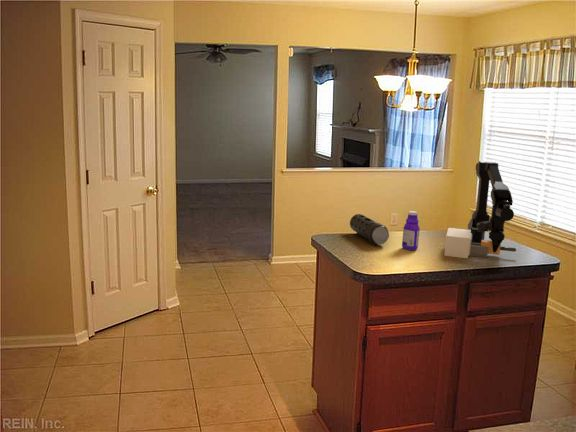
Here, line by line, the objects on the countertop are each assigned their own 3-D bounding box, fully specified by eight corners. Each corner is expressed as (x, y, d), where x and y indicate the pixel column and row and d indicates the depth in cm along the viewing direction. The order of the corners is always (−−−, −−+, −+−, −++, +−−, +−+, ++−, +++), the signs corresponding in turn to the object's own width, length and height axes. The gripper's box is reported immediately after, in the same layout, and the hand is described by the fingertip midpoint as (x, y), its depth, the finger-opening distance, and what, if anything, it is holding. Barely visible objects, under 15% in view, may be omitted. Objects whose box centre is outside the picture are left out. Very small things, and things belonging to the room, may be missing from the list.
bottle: (420, 249, 268) (423, 212, 265) (413, 251, 264) (416, 213, 261) (406, 246, 273) (409, 209, 270) (399, 248, 269) (402, 211, 265)
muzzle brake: (366, 233, 297) (367, 213, 295) (389, 247, 271) (391, 225, 269) (348, 233, 295) (349, 213, 292) (370, 247, 268) (372, 225, 266)
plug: (480, 252, 261) (481, 241, 260) (480, 250, 265) (481, 239, 264) (515, 256, 257) (517, 245, 256) (515, 254, 260) (516, 243, 259)
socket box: (444, 255, 259) (446, 235, 257) (446, 246, 276) (448, 227, 274) (487, 260, 254) (489, 240, 252) (486, 250, 271) (489, 231, 269)
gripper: (479, 211, 269) (475, 244, 272) (478, 218, 252) (475, 253, 255) (504, 213, 266) (500, 246, 269) (506, 221, 248) (502, 256, 251)
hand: (494, 250), depth 261 cm, fingers closed on plug, 4 cm apart
